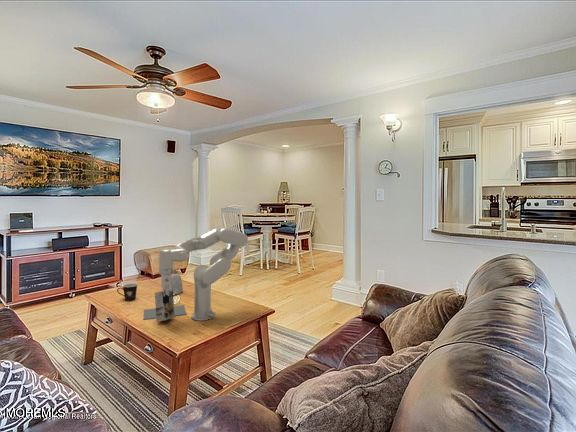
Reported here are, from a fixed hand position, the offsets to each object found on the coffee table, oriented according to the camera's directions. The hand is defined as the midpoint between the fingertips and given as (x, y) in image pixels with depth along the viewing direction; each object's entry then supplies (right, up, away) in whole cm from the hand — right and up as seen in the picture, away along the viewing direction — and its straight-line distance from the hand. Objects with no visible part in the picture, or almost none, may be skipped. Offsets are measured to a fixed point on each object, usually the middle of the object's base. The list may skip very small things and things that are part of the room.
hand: (165, 302), depth 175 cm
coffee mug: (-41, -9, +38) cm, 57 cm away
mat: (-8, -11, +18) cm, 22 cm away
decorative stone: (-13, -8, +53) cm, 55 cm away
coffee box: (-2, -11, +5) cm, 12 cm away
